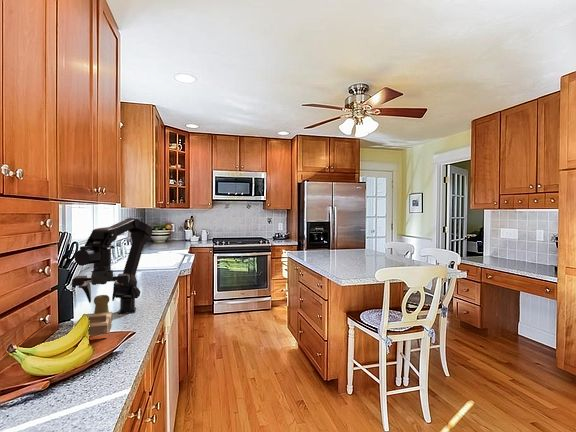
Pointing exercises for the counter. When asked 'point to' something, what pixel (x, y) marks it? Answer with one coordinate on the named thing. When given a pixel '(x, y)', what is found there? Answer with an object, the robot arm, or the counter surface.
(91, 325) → the lid
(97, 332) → the toolbox
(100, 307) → the brown bottle
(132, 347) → the counter surface
